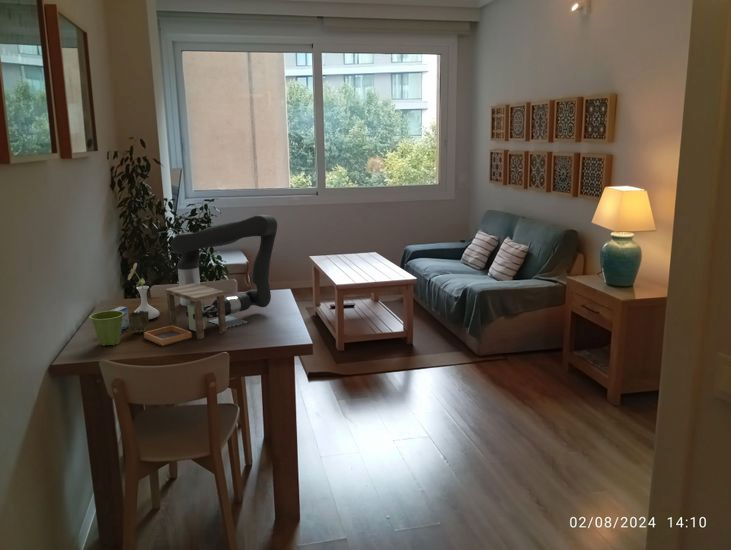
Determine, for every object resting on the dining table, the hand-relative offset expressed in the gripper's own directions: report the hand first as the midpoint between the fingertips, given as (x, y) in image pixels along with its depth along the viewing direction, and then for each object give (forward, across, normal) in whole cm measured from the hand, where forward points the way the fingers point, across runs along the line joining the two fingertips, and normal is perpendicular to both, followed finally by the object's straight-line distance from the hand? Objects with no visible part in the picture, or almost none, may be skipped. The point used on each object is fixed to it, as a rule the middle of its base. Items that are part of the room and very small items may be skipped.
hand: (190, 315), depth 235 cm
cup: (+13, -16, +7) cm, 22 cm away
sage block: (-3, 0, +6) cm, 7 cm away
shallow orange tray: (+10, 0, +7) cm, 12 cm away
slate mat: (-17, 0, +7) cm, 18 cm away
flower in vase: (+3, -32, +7) cm, 33 cm away
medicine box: (+17, -26, +7) cm, 32 cm away
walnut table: (-3, 0, +7) cm, 7 cm away
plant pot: (+27, -12, +7) cm, 31 cm away
